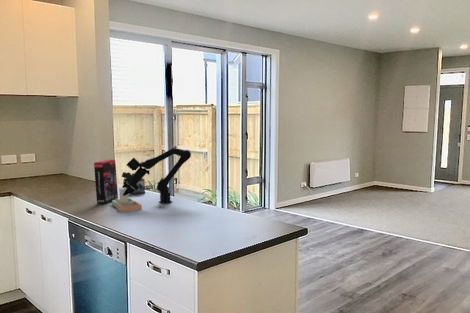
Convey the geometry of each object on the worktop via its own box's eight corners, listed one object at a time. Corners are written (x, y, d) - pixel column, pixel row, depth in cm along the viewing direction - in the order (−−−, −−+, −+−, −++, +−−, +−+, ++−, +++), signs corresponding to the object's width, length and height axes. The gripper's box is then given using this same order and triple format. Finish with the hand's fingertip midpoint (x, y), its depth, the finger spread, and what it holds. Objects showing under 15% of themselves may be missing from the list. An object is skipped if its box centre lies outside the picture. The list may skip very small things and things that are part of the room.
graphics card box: (105, 204, 256) (103, 162, 253) (95, 204, 257) (93, 162, 254) (118, 198, 272) (116, 159, 269) (109, 198, 274) (107, 159, 271)
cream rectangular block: (126, 204, 256) (125, 187, 255) (128, 205, 251) (127, 188, 250) (120, 204, 254) (119, 187, 253) (122, 206, 250) (121, 189, 248)
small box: (130, 194, 286) (129, 180, 285) (129, 193, 292) (128, 179, 291) (145, 193, 290) (144, 179, 289) (143, 191, 296) (143, 178, 295)
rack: (141, 209, 241) (141, 204, 241) (122, 212, 235) (121, 207, 235) (130, 202, 261) (130, 197, 261) (112, 204, 255) (112, 200, 255)
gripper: (125, 165, 260) (109, 183, 256) (132, 169, 244) (115, 188, 240) (138, 176, 265) (122, 194, 261) (145, 180, 249) (128, 199, 245)
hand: (121, 194), depth 252 cm, fingers open, 9 cm apart
